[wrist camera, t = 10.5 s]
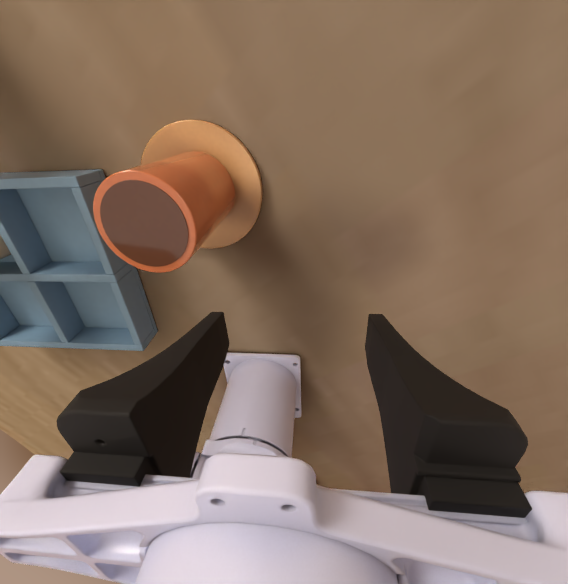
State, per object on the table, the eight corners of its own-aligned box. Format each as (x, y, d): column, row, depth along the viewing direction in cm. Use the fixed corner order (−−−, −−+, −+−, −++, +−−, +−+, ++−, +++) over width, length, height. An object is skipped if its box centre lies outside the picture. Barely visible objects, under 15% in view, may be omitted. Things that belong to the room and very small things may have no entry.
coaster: (267, 246, 24) (266, 248, 23) (161, 246, 25) (158, 248, 24) (256, 116, 19) (255, 116, 18) (126, 122, 20) (122, 123, 19)
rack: (158, 331, 30) (143, 351, 27) (22, 327, 31) (-4, 345, 29) (102, 169, 22) (75, 176, 19) (-76, 175, 23) (-123, 182, 21)
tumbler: (239, 224, 22) (204, 273, 16) (174, 225, 23) (113, 273, 16) (229, 149, 20) (182, 168, 13) (156, 152, 20) (74, 172, 13)
